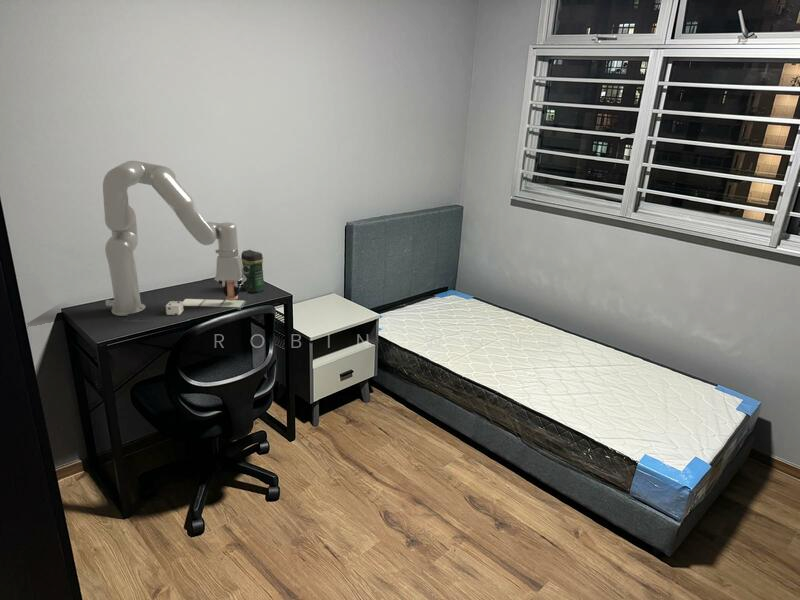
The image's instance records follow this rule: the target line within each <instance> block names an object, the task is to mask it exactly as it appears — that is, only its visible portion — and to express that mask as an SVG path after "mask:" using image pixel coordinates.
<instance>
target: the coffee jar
mask: <svg viewBox="0 0 800 600" xmlns="http://www.w3.org/2000/svg"><path fill="white" fill-rule="evenodd" d="M240 258H241V262H242V268H243V274H244V275H245V277H246V278H247V280H246V281H245V282H243V283H242V289H244V290H246V291H248V292H249V293H261V292H263V291H264V290H265V279H264V270H263V262H264V261H263V260H264V257H263V253H261V252H259V251H255V250H251V249H247V250H243V251H242V252H241V256H240Z"/></svg>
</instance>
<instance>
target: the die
mask: <svg viewBox="0 0 800 600" xmlns="http://www.w3.org/2000/svg"><path fill="white" fill-rule="evenodd" d="M183 301H184V300H183ZM183 301H181V300H179V301H178V300H176V301H175V300H171V301H169V302H168V303H167V304H165V312H166V315H169V316H170V315H171V316H180V315H181V314H182V313H183V312H184V311H185V310H184V306H183Z"/></svg>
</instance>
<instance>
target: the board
mask: <svg viewBox="0 0 800 600" xmlns="http://www.w3.org/2000/svg"><path fill="white" fill-rule="evenodd" d="M246 303H247V301H246V300H240V299H239V300H238V299H236V300H227V299H203V298H197V299H196V298H184V300H183V307H185V306H186V307H199V306H200V307H216V308H217V307H220V308H221V307H222V308H225V307H227V308H229V307H230V308H235V309H234V310H236V309H237V311H238V310H240V311H241V310H242V309H243V307H244V306H245V304H246ZM241 308H242V309H241Z"/></svg>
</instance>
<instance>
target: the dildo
mask: <svg viewBox="0 0 800 600" xmlns="http://www.w3.org/2000/svg"><path fill="white" fill-rule="evenodd" d="M226 285H227V296H225V300H238V298H239V296H238V295H239V294H238V295H237V296H235V294H234V287H235V283H234V281H226Z"/></svg>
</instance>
